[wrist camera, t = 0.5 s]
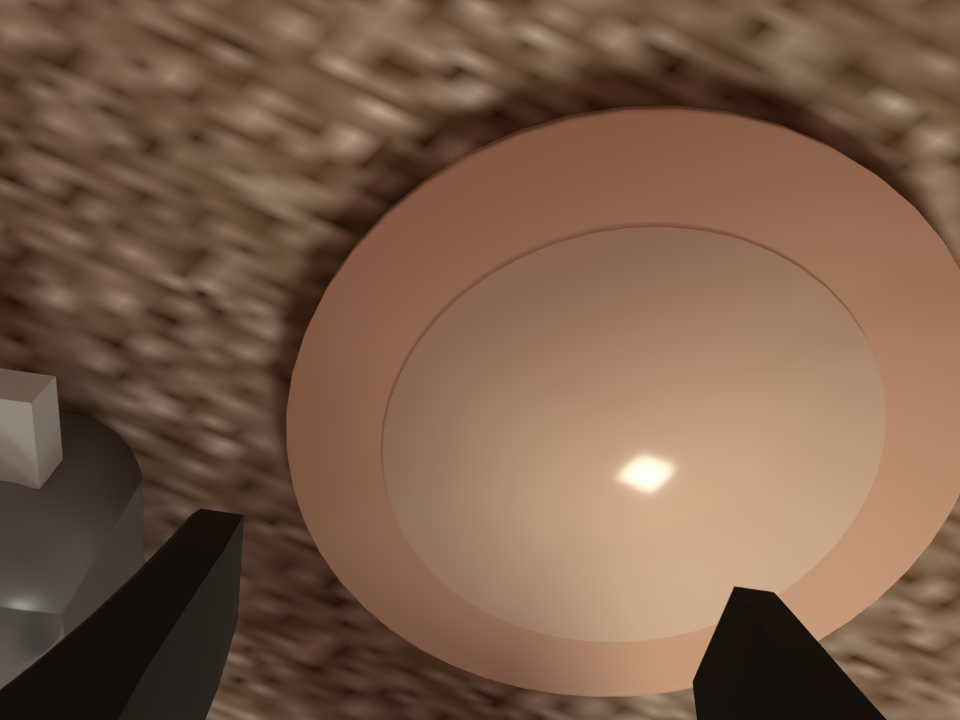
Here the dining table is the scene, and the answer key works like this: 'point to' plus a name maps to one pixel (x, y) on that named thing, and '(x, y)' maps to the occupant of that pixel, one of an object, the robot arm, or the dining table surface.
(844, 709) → the robot arm
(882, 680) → the dining table surface
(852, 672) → the dining table surface
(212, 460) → the dining table surface
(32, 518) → the connector
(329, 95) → the dining table surface
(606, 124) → the plate
